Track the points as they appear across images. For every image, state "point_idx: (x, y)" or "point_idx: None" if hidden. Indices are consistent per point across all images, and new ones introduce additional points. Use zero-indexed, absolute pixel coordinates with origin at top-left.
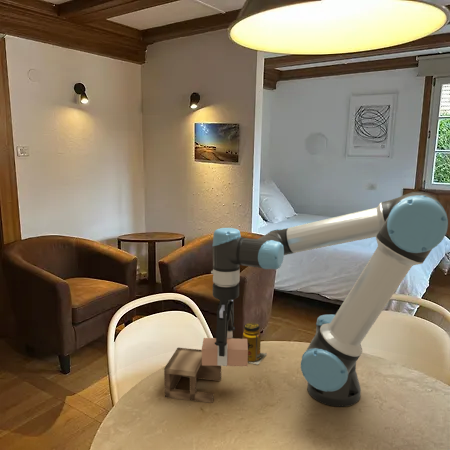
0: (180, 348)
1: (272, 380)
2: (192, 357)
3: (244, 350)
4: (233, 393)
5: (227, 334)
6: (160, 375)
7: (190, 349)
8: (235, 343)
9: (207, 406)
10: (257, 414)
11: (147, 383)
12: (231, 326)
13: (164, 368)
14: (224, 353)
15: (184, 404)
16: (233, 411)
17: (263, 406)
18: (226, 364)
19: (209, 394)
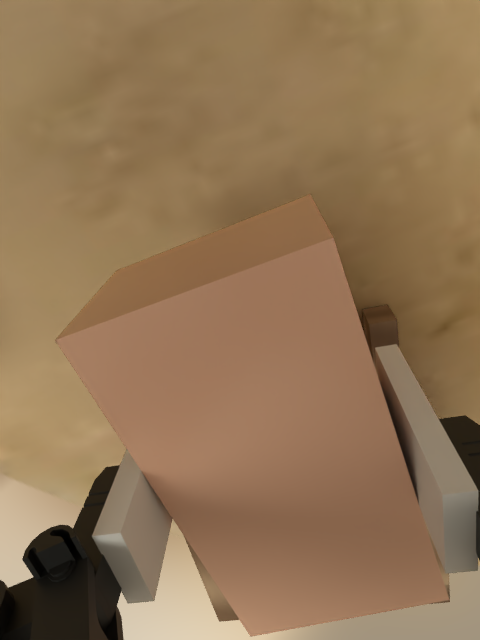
0: (223, 610)
1: (47, 73)
2: None
3: (344, 274)
4: None
5: (146, 538)
6: None
7: (209, 574)
8: (230, 412)
9: (419, 313)
10: (423, 39)
11: None
12: (90, 609)
13: (449, 600)
14: (451, 433)
15: (429, 399)
16: (428, 183)
17: (334, 30)
18: (400, 354)
19: (384, 337)
